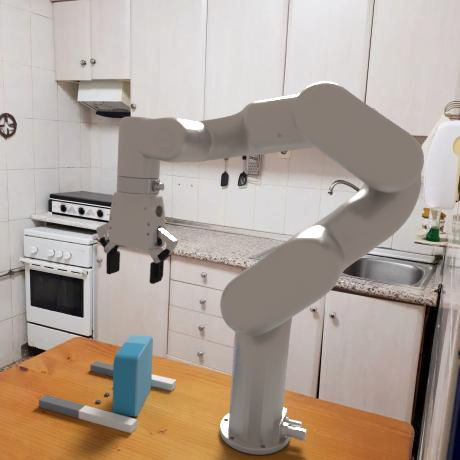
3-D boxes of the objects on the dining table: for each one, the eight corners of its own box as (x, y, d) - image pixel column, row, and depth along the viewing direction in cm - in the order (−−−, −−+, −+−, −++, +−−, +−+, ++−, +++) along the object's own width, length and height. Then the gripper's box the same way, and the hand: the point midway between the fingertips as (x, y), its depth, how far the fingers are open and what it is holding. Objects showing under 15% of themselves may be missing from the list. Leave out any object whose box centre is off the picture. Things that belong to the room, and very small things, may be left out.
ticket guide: (175, 386, 98) (176, 379, 98) (131, 433, 81) (131, 425, 81) (95, 367, 104) (95, 361, 104) (38, 407, 87) (38, 399, 87)
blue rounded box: (130, 386, 97) (131, 332, 95) (151, 387, 97) (153, 333, 95) (112, 418, 85) (113, 357, 83) (136, 420, 85) (137, 359, 83)
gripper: (189, 190, 84) (183, 281, 87) (112, 181, 91) (109, 265, 94) (168, 193, 77) (162, 291, 80) (86, 182, 84) (83, 273, 87)
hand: (133, 277), depth 87 cm, fingers open, 9 cm apart
